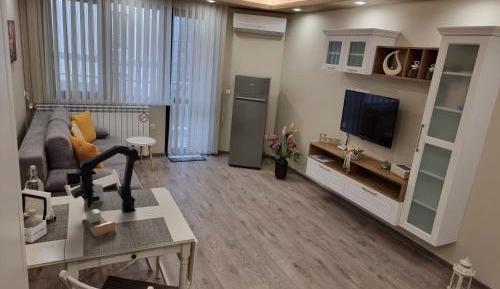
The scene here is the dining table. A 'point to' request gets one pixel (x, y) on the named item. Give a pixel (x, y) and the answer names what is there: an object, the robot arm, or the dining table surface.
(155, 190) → the dining table surface
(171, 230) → the dining table surface
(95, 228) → the brown boxy piece
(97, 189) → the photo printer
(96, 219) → the pale sage green cube
